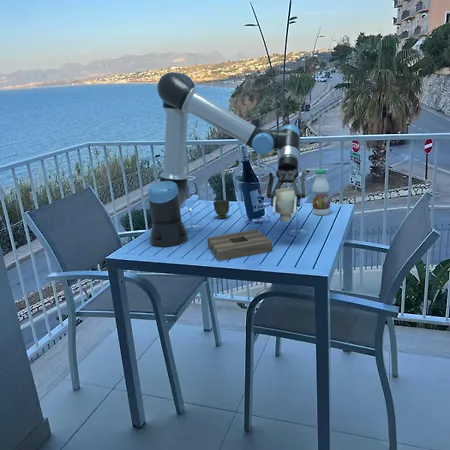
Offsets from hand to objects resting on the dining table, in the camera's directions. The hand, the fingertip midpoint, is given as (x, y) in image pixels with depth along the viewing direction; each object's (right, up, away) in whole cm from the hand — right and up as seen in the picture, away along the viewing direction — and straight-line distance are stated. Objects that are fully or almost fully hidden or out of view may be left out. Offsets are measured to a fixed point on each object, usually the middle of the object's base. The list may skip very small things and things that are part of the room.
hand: (284, 213), depth 146 cm
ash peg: (+1, -2, +4) cm, 5 cm away
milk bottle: (+22, +1, +39) cm, 45 cm away
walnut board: (-16, -13, +5) cm, 21 cm away
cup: (-22, -1, +45) cm, 50 cm away
